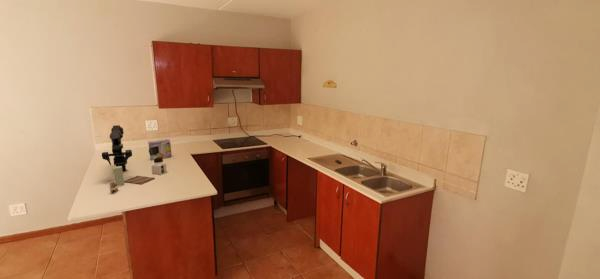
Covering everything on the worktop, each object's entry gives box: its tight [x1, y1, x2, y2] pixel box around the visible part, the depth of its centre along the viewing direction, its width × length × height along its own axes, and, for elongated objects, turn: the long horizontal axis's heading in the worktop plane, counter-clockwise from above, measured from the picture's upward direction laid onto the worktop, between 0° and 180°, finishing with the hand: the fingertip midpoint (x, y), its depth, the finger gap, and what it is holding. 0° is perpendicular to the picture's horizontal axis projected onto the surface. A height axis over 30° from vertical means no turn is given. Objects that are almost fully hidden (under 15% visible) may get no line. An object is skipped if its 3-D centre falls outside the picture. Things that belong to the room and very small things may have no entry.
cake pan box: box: [147, 138, 173, 161], centre depth 274 cm, size 19×5×18 cm, turn 129°
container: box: [150, 157, 168, 176], centre depth 234 cm, size 8×8×13 cm
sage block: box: [112, 166, 125, 187], centre depth 208 cm, size 5×5×13 cm
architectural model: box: [108, 179, 121, 194], centre depth 196 cm, size 3×7×7 cm, turn 7°
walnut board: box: [124, 175, 156, 185], centre depth 218 cm, size 16×13×1 cm
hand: (118, 164), depth 213 cm, fingers open, 9 cm apart
